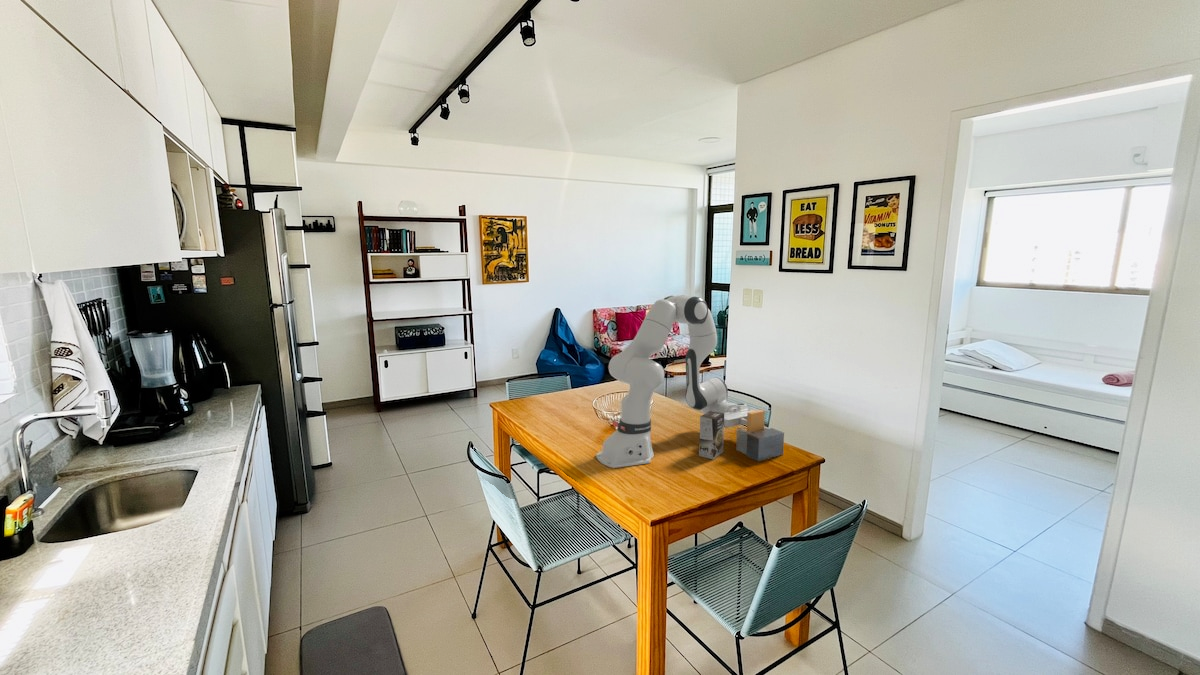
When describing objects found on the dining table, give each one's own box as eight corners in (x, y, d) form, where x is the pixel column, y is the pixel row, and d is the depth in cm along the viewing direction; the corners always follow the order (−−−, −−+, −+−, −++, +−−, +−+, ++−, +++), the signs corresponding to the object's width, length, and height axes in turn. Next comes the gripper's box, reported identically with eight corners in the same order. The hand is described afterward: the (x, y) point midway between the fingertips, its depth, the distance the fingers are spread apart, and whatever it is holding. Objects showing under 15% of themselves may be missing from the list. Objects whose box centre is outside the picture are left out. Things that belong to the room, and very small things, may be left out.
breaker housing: (758, 461, 183) (759, 438, 182) (734, 450, 194) (735, 428, 193) (782, 454, 189) (784, 432, 188) (758, 444, 200) (759, 423, 198)
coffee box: (714, 460, 185) (715, 419, 182) (698, 456, 189) (699, 416, 186) (723, 452, 192) (725, 412, 190) (708, 448, 196) (709, 410, 193)
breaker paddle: (750, 438, 190) (751, 414, 188) (746, 437, 192) (747, 412, 190) (763, 435, 193) (764, 411, 191) (759, 434, 195) (760, 409, 193)
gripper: (709, 410, 199) (733, 420, 187) (747, 403, 209) (772, 411, 197) (709, 425, 200) (733, 435, 188) (746, 417, 210) (771, 426, 198)
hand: (753, 423), depth 192 cm, fingers closed, pressing on breaker paddle
